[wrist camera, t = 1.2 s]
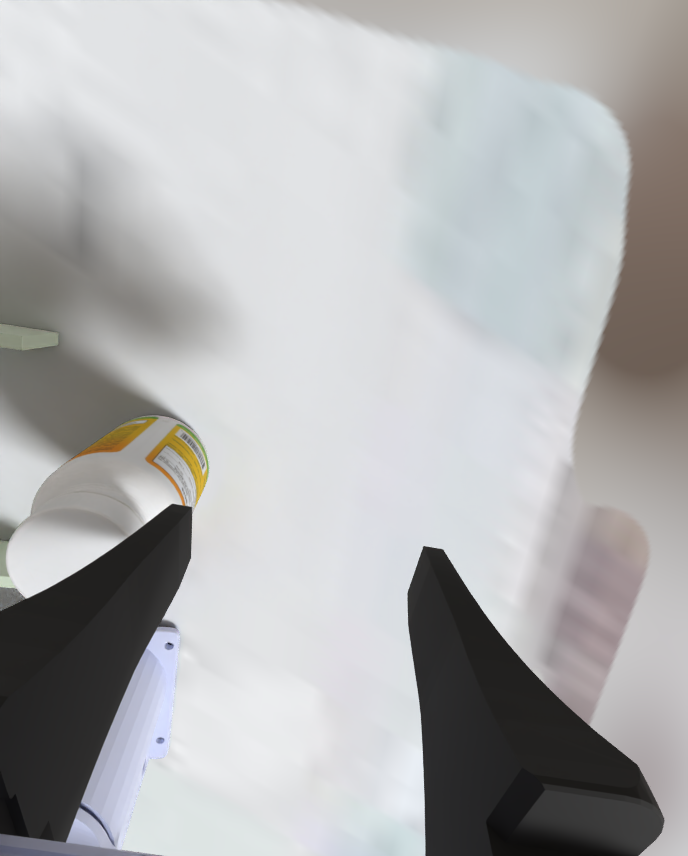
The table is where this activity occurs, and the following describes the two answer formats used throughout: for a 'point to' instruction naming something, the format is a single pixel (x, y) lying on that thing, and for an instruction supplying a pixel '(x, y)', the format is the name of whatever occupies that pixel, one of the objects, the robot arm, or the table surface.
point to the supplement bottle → (105, 499)
